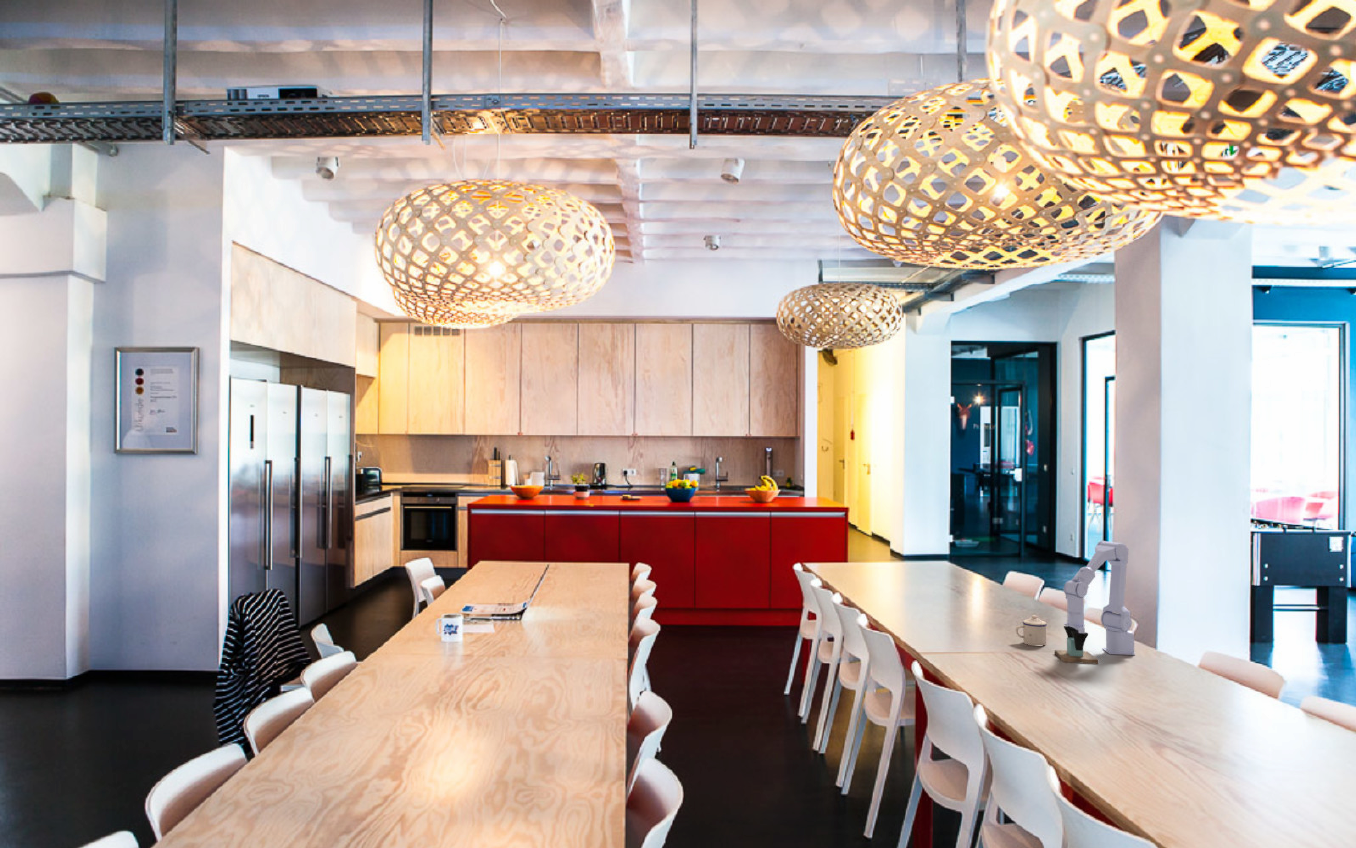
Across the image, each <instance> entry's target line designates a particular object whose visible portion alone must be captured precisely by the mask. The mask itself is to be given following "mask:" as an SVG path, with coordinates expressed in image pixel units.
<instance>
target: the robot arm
mask: <svg viewBox="0 0 1356 848" xmlns="http://www.w3.org/2000/svg"><path fill="white" fill-rule="evenodd" d="M1128 560H1129V548H1128V546H1127V545H1126V544H1125V543H1123V542H1115V541H1106V540H1099V541H1098V542H1097V544H1096V545H1095V547H1094V554H1093V556H1091V559H1090V560H1089V561H1088V563H1087V565H1086V566H1083V567H1080V568H1079V570H1078V571H1077V573H1075V575H1074V576H1073V577H1072V579H1071V580H1067V581H1066V582H1065V584H1064V586H1063V588H1062V589H1063V593H1064V594H1065V600H1066V604H1067V605H1066V607H1067V608H1066V610H1067V612H1066V613H1067V618H1066V619H1067V620H1066V622H1064V623H1063V629H1064V630H1065V632H1066V635H1067V637H1068V638H1074V642H1075V648H1076V650H1079V651H1082V650H1083V651H1084V645H1085V642H1086V639H1087V637H1088V636H1089V633H1088V632H1085V630H1086V629H1085V606H1084V603H1085V602H1084V600H1085V599H1084V598H1085V596H1087V594H1088V590H1089V585H1090V584H1091V583H1092V582H1093V580H1094V579H1095V578H1096V573H1095V572H1096V571H1097V570H1098V569H1100V567H1101V566H1102V565H1103V564H1104V563H1105V562H1106V561H1107V562H1108V563H1109V564H1110V565H1111V568H1110V582H1109V583H1110V584H1109V595H1108V604H1107V605H1105V606H1103V608H1102V612H1101V615H1100V622H1101V625H1102V626H1103V628H1104V629H1105V647H1102V648H1101V649H1102V650H1103V651H1105V652H1106V653H1107V654H1108V655H1122V656H1123V655H1126V656H1127V655H1128V656H1135V655H1136V653H1135V637H1134V633H1133V631H1132V630H1130V629H1131V627H1132V624H1133V622H1132V618H1131V611H1129V609H1128V608H1127V607H1126V606H1125V599H1126V582H1127V567H1128V566H1127V565H1128Z"/></svg>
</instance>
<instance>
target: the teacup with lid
mask: <svg viewBox="0 0 1356 848" xmlns="http://www.w3.org/2000/svg"><path fill="white" fill-rule="evenodd" d="M1021 628H1022V629H1023V630H1022V631H1023V632H1022V633H1023V635H1020V633H1019V629H1021ZM1015 634H1016V635H1017V637H1019V638H1021V639H1023V644H1025V645H1027V644H1028V645H1027V646H1030V645H1045V646H1046V645H1047V622H1046V621H1044V620H1041V619H1040V618H1038V616H1037V615H1034V614H1033V615H1031V617H1029V618H1028V619H1024V620H1023V621H1022V625H1018V626H1017V627H1016V628H1015Z"/></svg>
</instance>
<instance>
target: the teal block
mask: <svg viewBox="0 0 1356 848" xmlns="http://www.w3.org/2000/svg"><path fill="white" fill-rule="evenodd" d="M1066 651H1067V653H1068V654H1069V655H1070V656H1082V657H1083V651H1084V649H1083V650H1082V651H1079V650H1076V648H1075V642H1074V638H1068V636H1067V637H1066Z"/></svg>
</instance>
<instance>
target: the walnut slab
mask: <svg viewBox="0 0 1356 848" xmlns="http://www.w3.org/2000/svg"><path fill="white" fill-rule="evenodd" d="M1054 654H1055V656H1057V657H1058V656H1059V657H1060V658H1061V659H1062V660H1063V661H1062V660H1061V659H1060V658H1059V657H1058V658H1059V659H1060V660H1061V661H1062V662H1063V663H1071V662H1083V663H1082V664H1093V663H1095V664H1099V659H1098V658H1097V657H1095V656H1094V655H1093V654H1091V653H1090V652H1089V651H1086V650H1085V651H1084V650H1083V657H1082V656H1070V655H1069V654H1068V653H1067V650H1062V649H1061V650H1060V649H1054Z"/></svg>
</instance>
